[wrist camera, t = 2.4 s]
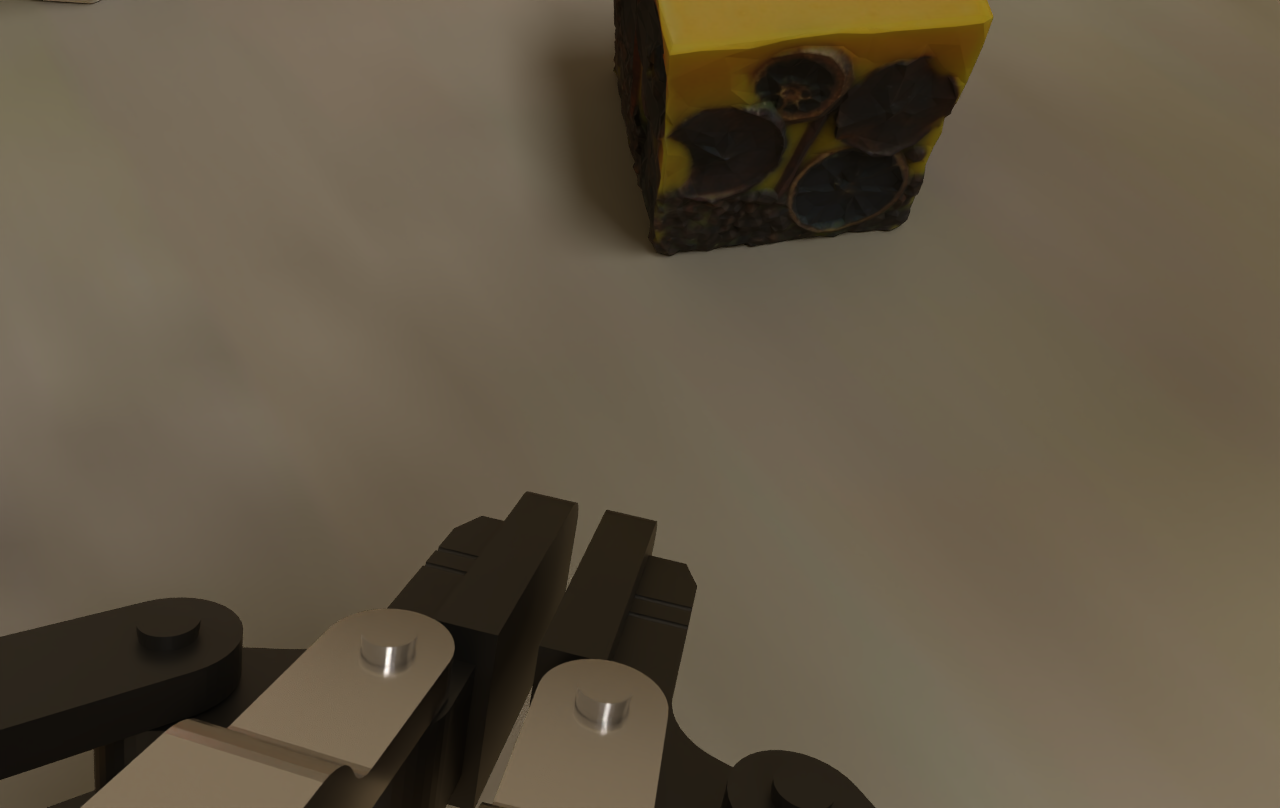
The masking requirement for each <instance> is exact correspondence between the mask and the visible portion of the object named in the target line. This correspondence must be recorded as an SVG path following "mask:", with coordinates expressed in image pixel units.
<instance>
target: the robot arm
mask: <svg viewBox="0 0 1280 808" xmlns="http://www.w3.org/2000/svg"><path fill="white" fill-rule="evenodd" d="M577 518H578V503H576V502H571V501H567V500H563V499H558V498H554V497H550V496H545V495H541V494H537V493H533V492H528V491H527V492H526V493H525V494H524V495H523V496H522V498H521V499H520V500H519V502H518V503H517V505H516V506H515V507H514V509H513V510H512V511H511V513H510V514H509V515H508V517H507V518H506V520H505V521H501V520H497V519H493V518H489V517H485V516H481V517H478V518H476V519H474V520H472V521H470V522H467V523H465V524H463V525H461V526H458V527H456V528H454V529H453V531H452V532H451V533H450V534H449V535H448V536H447V538H446V539H445V540H444V541H443V542H442V544H441V545H440V546H439V549H438V551H437V550H436V551H435V552H434V553H433V554H432V556H431V557H430V558H429V559H428V560H427V562H426V565H425V566H422V567H421V569H420V570H419V571H418V572H417V573H416V575H415V576H414V577H413V578H412V579H411V581H410V582H409V583H408V584H407V585H406V587H405V588H404V589H403V590H402V591H401V593H400V594H399V595H398V596H397V597H396V598H395V600H394V601H393V602H392V603H391V604H390V606H389V607H388V608H387V609H373V610H367V611H362V612H358V613H355V614H352V615H349V616H347V617H345V618H343V619H341V620H339V621H337V622H336V623H335V624H333V625H332V626H331V627H330V628H329V629H328V630H327V631H326V632H325V633H324V634H322V635H321V636H320V637H319V638H318V639H317V640H316V641H315V642H314V643H313V644H312V645H311V646H310V647H309V648H308V649H267V648H242V643H243V626H242V622H241V621H240V619H239V617H238V616H237V615H236V614H235V613H234V612H233V611H232V610H230V609H228V608H227V607H225V606H223V605H220V604H218V603H215V602H211V601H208V600H203V599H196V598H166V599H157V600H152V601H147V602H143V603H139V604H134V605H130V606H126V607H122V608H118V609H114V610H110V611H106V612H101V613H97V614H93V615H89V616H85V617H81V618H77V619H73V620H68V621H64V622H60V623H56V624H52V625H48V626H44V627H40V628H36V629H31V630H27V631H23V632H19V633H15V634H11V635H7V636H3V637H0V780H2V779H5V778H8V777H11V776H14V775H17V774H20V773H23V772H26V771H29V770H32V769H35V768H38V767H41V766H44V765H47V764H50V763H53V762H56V761H59V760H62V759H65V758H68V757H71V756H74V755H77V754H80V753H83V752H86V751H89V750H92V749H94V779H95V790H94V791H92V792H89V793H86V794H83V795H81V796H78V797H75V798H72V799H70V800H67V801H64V802H61V803H58V804H56V805H53V806H50V807H47V808H445V807H446V805H447V804H449V805H452V806H456V807H460V808H475V806H476V804H477V802H478V800H479V798H480V796H481V793H482V791H483V789H484V787H485V785H486V783H487V781H488V779H489V777H490V774H491V772H492V770H493V768H494V766H495V764H496V762H497V760H498V757H499V755H500V753H501V751H502V749H503V747H504V745H505V743H506V741H507V738H508V736H509V734H510V732H511V730H512V728H513V726H514V724H515V721H516V719H517V717H518V715H519V713H520V711H521V709H522V707H523V704H524V702H525V700H526V698H527V696H528V694H529V692H530V690H531V688H532V694H531V700H530V706H529V710H528V713H527V715H526V718H525V720H524V723H523V726H522V728H521V731H520V734H519V736H518V739H517V741H516V744H515V747H514V749H513V752H512V754H511V757H510V760H509V762H508V765H507V767H506V770H505V773H504V775H503V778H502V780H501V783H500V786H499V788H498V791H497V793H496V796H495V799H494V801H493V804H488V803H484V802H482V803H481V804H480V806H479V807H478V808H875V807H874V806H873V804H872V803H871V802H870V801H869V800H868V799H867V798H866V797H865V796H864V794H863V793H862V792H861V791H860V790H859V789H858V788H857V787H856V786H855V785H854V784H853V783H852V782H851V781H850V780H849V779H848V778H847V777H846V776H844V775H843V774H842V773H840V772H839V771H838V770H836V769H835V768H833V767H831V766H830V765H828V764H826V763H824V762H822V761H820V760H818V759H815V758H813V757H810V756H807V755H804V754H800V753H796V752H791V751H783V750H768V751H761V752H757V753H754V754H750V755H748V756H747V757H745V758H743V759H741V760H740V761H739V762H738V763H737V764H736V765H735V766H734V767H731V766H729V765H727V764H725V763H723V762H722V761H720V760H718V759H716V758H714V757H713V756H711V755H709V754H707V753H706V752H704V751H703V750H702V749H700V748H699V747H698V746H696V745H695V744H694V743H693V742H692V741H691V740H690V739H689V738H688V737H687V736H686V735H685V734H684V732H683V731H682V730H681V729H680V727H679V725H678V723H677V722H676V720H675V717H674V714H673V710H672V698H673V694H674V689H675V685H676V680H677V676H678V671H679V666H680V662H681V657H682V653H683V648H684V644H685V639H686V634H687V630H688V625H689V621H690V616H691V612H692V607H693V602H694V598H695V593H696V589H697V585H696V583H695V581H694V579H693V577H692V575H691V573H690V571H689V569H688V567H687V565H686V564H684V563H679V562H675V561H671V560H667V559H663V558H658V557H654V556H652V551H653V546H654V541H655V536H656V530H657V521H653V520H649V519H645V518H640V517H636V516H632V515H628V514H623V513H619V512H615V511H610V510H606V512H605V513H604V515H603V517H602V520H601V522H600V524H599V526H598V528H597V530H596V532H595V534H594V536H593V538H592V540H591V542H590V544H589V546H588V548H587V550H586V552H585V554H584V556H583V558H582V560H581V562H580V564H579V566H578V568H577V570H576V572H575V574H574V576H573V578H572V580H571V582H570V584H569V586H568V588H567V590H566V585H567V579H568V573H569V567H570V561H571V555H572V549H573V543H574V537H575V531H576V525H577ZM565 591H566V592H565ZM532 685H533V687H532Z"/></svg>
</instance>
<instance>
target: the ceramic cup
mask: <svg viewBox="0 0 1280 808" xmlns="http://www.w3.org/2000/svg"><path fill="white" fill-rule="evenodd" d="M45 1H61V2H77V3H95V2H97V1H99V0H45Z"/></svg>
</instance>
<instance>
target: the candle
mask: <svg viewBox="0 0 1280 808" xmlns="http://www.w3.org/2000/svg"><path fill="white" fill-rule="evenodd" d="M992 20H993V14H992V12H991V9H990V7H989V4H988V2H987V0H614V24H615V27H616V30H615V39H616V40H615V56H614V62H615V67H614V70H613V71H614V72H615V73H616V75H617V76H618V90H619V95H620V97H621V101H622V115H623V118H624V120H625V124H626V129H627V135H628V143H629V147H630V150H631V153H632V155H633V158H634V160H635V163H634V166H633V168H634V170H635V172H636V173H637V178H638V186H639V187H640V188H641V189H642V193H643V197H644V202H645V206H646V209H647V212H648V215H649V218H650V232H649V237H648V238H649V240H650V241H651V242H652V244H653V245H654V247H655V249H656V251H657V252H659V253H663V254H667V255H673V254H674V253H676V252H678V251H680V250H706V251H708V250H712V249H715V248H718V247H724V246H733V245H740V244H743V243H744V244H746V245H749V246H756V245H762V244H767V243H773V242H779V241H785V240H792V239H799V238H806V237H813V236H820V235H821V236H831V237H833V236H836V235H838V234H841V233H844V232H846V231H852V232H855V231H869V230H892V229H894V228H896V227H899V226H900V225H901V224H903V223H904V222H905V221H906V220H907V219H908V216H909V213H910V207H911V205H912V203H913V200H914V198H915V196H916V195H917V194H918V193H919V190H920V188H921V185H922V183H923V179H924V172H925V165H926V162H927V160H928V158H929V156H930V153H931V151H932V149H933V147H934V145H935V143H936V142H937V140H938V138H939V136H940V135H941V133H942V128H943V123H944V118H945V117H947V116H948V115H950V114H951V111H952V109H953V107H954V105H955V104H956V102H957V101H958V99H959V97H960V95H961V93H962V91H963V89H964V87H965V85H966V83H967V81H968V78H969V76H970V74H971V72H972V70H973V67H974V65H975V63H976V61H977V58H978V56H979V54H980V51H981V49H982V47H983V45H984V42H985V39H986V36H987V33H988V31H989V28H990V25H991V22H992Z"/></svg>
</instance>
